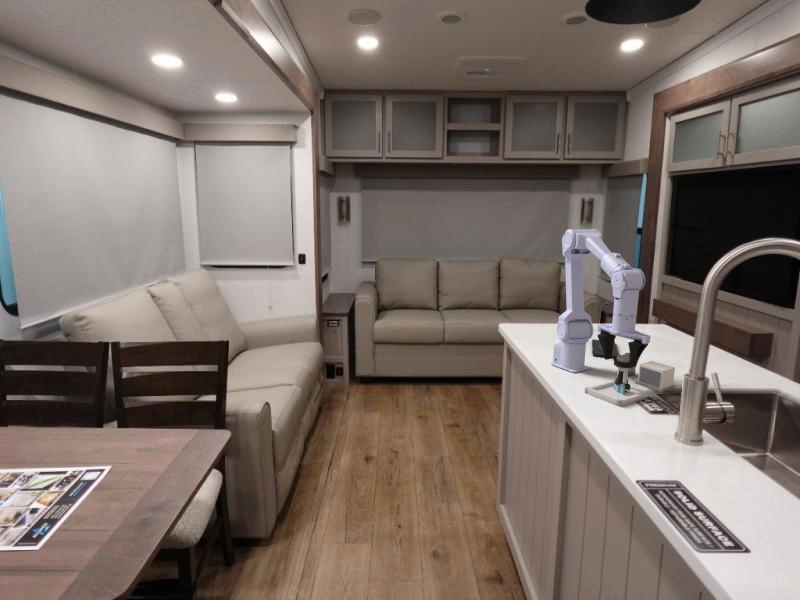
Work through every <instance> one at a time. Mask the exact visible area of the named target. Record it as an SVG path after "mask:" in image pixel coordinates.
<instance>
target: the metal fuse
mask: <svg viewBox="0 0 800 600" xmlns="http://www.w3.org/2000/svg"><path fill="white" fill-rule="evenodd" d="M622 355H627V356H630V352H624V354H622ZM636 370H637V366H636V367H633V368H630V369H629V370H628V377H631V378H633V377H635V376H636V373H637V372H636ZM628 377H627V378H628Z"/></svg>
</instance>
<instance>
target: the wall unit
mask: <svg viewBox="0 0 800 600" xmlns="http://www.w3.org/2000/svg"><path fill="white" fill-rule="evenodd" d="M675 370H676V367H674V366H671V365H667V364H664V363H660V362H657V361H653V360H651V361H646V362H643V363H639V365H638V374H637V375H638V376H637V380H635V381H634V382H635V383H634V384H636V385H639V386H642V387H644V388H648V389H651V390H653V391H657V392H660V393H663V392H667V391H670V390H673V389H675V388H676V385H674V379H675V372H676V371H675Z"/></svg>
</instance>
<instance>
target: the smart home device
mask: <svg viewBox="0 0 800 600" xmlns="http://www.w3.org/2000/svg"><path fill="white" fill-rule="evenodd" d="M591 346H592V347H591V348H592V349H591V354H592V357H594V358H599V357H600V358H602V359H604V353H603V349H602V345H601V343H600V340H599V339H592V340H591ZM618 355H619V354H618V349H617V345H616V341H614V344H613V350H612V357H611V359H612V360H613V359H614V358H617V356H618ZM611 359H610V360H611Z"/></svg>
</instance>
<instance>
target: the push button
mask: <svg viewBox="0 0 800 600" xmlns="http://www.w3.org/2000/svg"><path fill="white" fill-rule="evenodd" d="M629 358H630V356H627V355H623V354H618V356H617V358H614V359H612V361H613V366H615V367H616V368H617V375H616V378H615V379H613V380H614V389H615V391H618V392H619V393H621V394H627V395H630V394H629V392H631V391H630V385H631V384H629V379H628V370H629V369H630V368H631V367H629Z"/></svg>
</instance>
